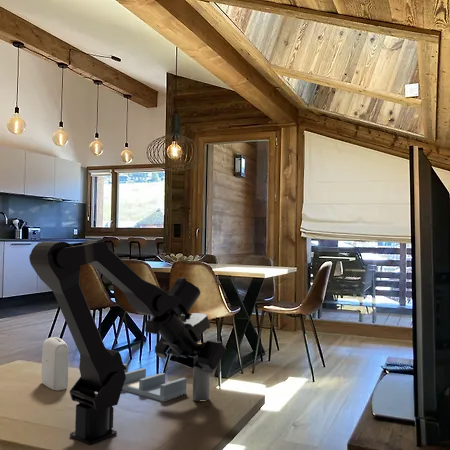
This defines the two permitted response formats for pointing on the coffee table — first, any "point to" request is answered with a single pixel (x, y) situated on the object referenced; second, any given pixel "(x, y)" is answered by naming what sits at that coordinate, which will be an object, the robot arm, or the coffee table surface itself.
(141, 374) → the grey divided tray
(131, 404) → the coffee table surface
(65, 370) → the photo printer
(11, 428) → the coffee table surface
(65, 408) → the coffee table surface
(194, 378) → the grey cylinder
